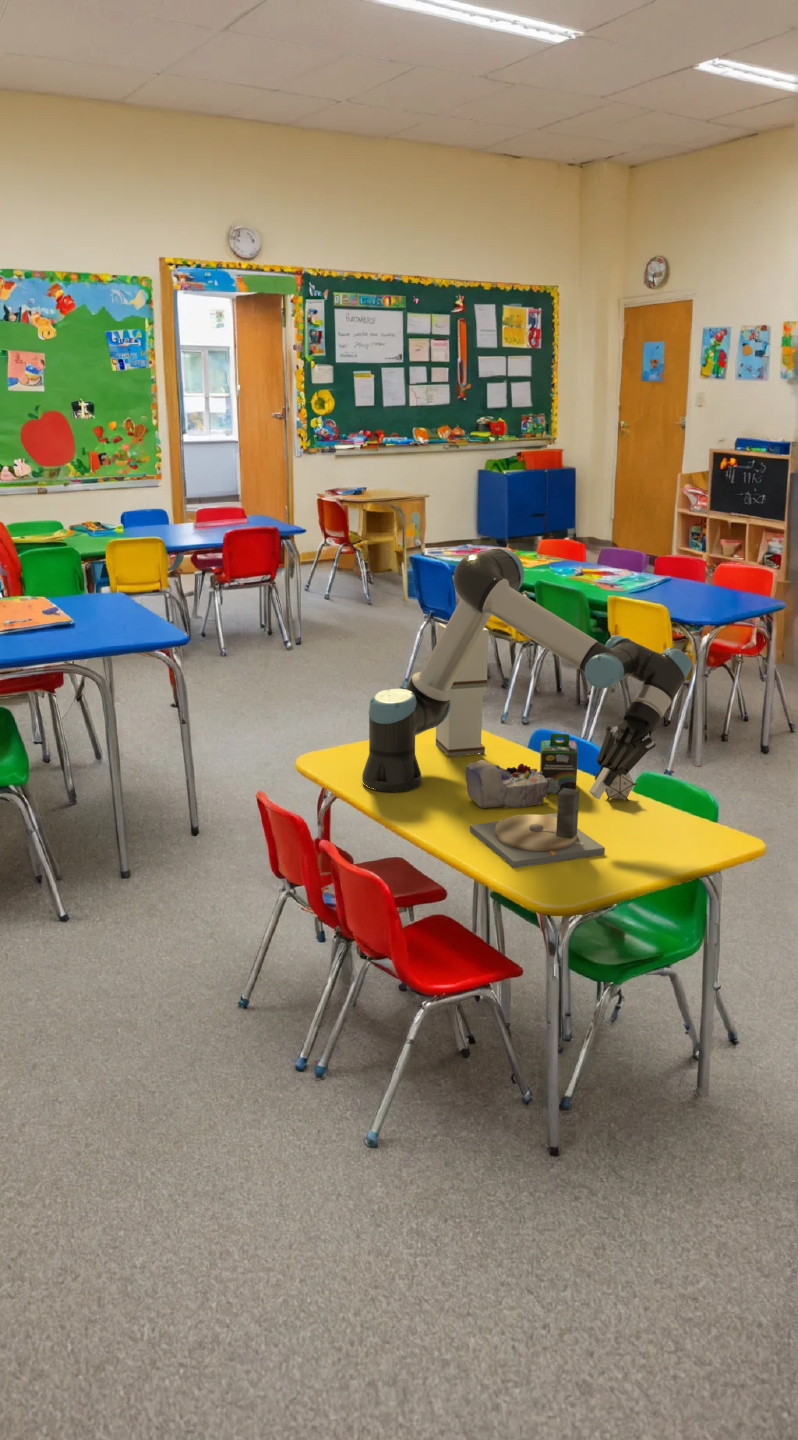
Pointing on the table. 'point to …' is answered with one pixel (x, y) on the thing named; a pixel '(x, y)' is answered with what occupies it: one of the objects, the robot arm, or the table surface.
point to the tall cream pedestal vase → (466, 703)
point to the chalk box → (559, 762)
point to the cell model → (505, 785)
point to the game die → (620, 787)
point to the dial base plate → (525, 857)
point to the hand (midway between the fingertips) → (594, 795)
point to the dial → (543, 827)
